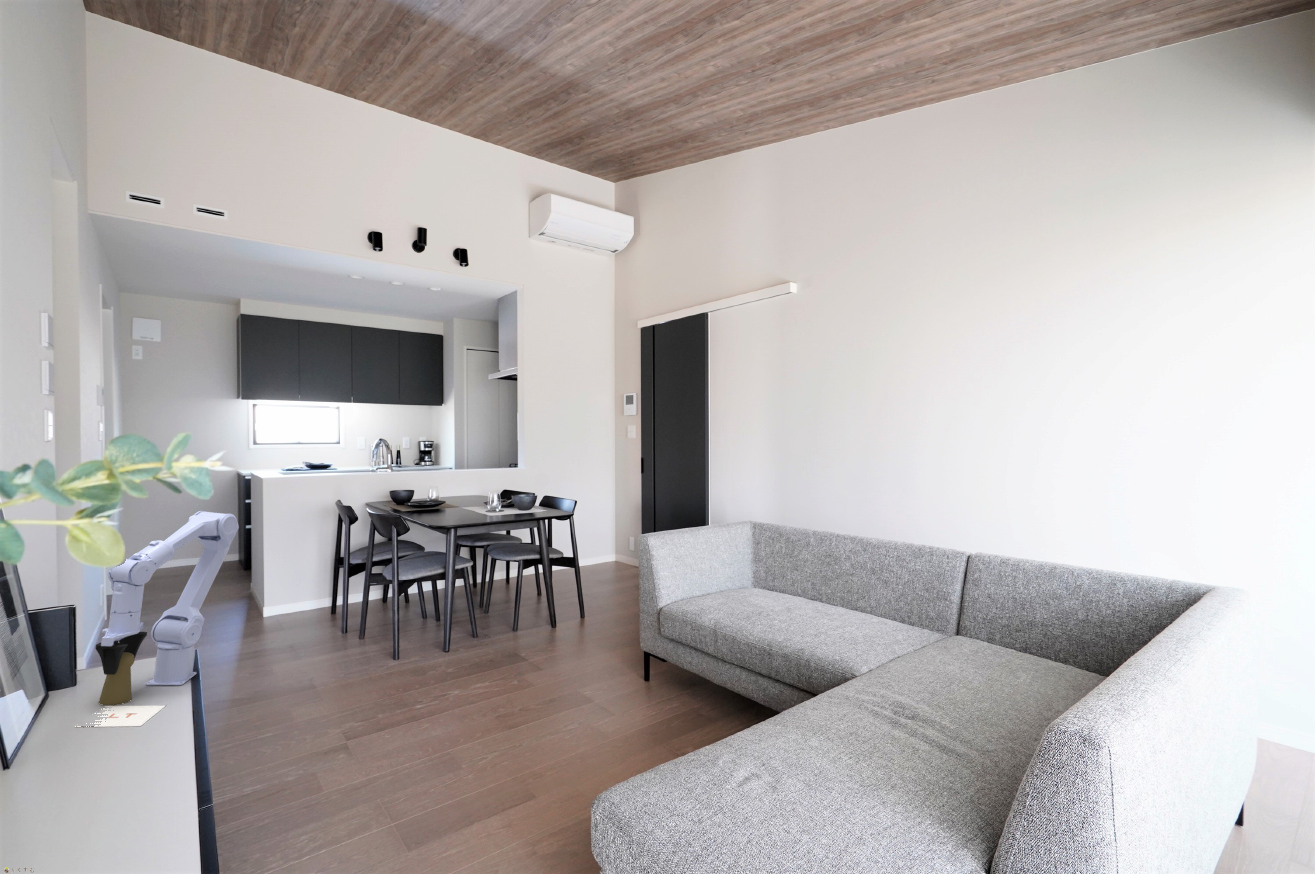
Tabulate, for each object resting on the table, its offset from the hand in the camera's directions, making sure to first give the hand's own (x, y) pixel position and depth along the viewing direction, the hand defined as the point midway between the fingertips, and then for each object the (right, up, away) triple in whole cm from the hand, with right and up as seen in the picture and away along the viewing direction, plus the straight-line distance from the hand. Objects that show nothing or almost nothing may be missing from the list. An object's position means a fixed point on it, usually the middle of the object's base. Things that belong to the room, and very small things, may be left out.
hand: (118, 668), depth 155 cm
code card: (+8, -8, -9) cm, 14 cm away
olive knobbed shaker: (0, -8, -1) cm, 8 cm away
